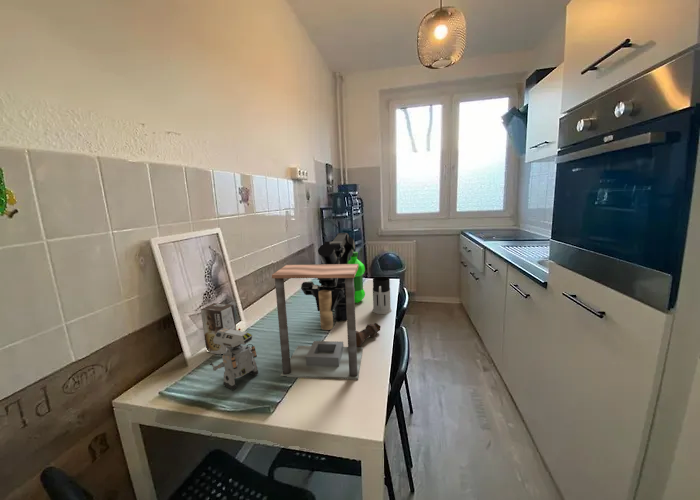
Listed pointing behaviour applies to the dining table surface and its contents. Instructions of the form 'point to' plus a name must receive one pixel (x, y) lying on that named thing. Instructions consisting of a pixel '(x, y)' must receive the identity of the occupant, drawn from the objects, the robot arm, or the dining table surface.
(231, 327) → the coffee box
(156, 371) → the dining table surface
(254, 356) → the figurine
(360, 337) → the bolt
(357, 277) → the plastic bottle
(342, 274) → the post and lintel frame
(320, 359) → the socket
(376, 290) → the glass holder
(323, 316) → the peg
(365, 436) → the dining table surface
